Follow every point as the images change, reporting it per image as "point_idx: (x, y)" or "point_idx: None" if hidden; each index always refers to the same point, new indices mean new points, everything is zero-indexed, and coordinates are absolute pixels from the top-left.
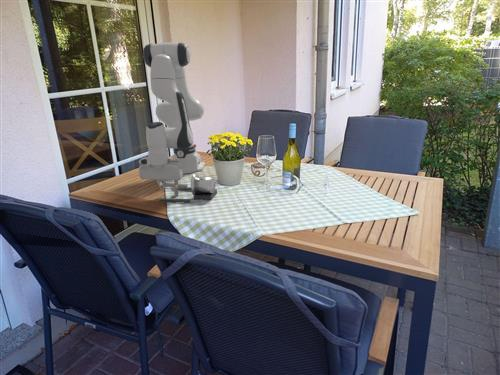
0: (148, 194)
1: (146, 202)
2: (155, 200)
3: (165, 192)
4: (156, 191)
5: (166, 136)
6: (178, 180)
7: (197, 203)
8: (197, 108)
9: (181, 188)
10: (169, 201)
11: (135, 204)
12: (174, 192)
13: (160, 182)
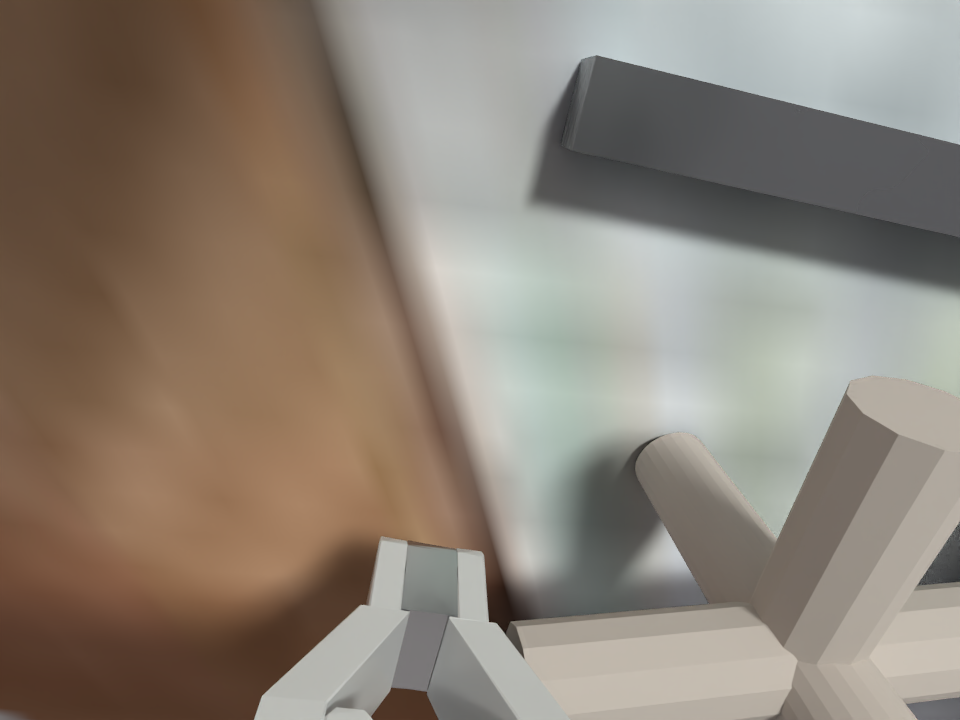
0: (63, 348)
1: (239, 662)
2: (350, 611)
3: (409, 266)
4: (152, 166)
5: None
6: (947, 518)
7: (944, 714)
8: None
9: (806, 201)
10: None
11: (109, 707)
12: (664, 524)
13: (355, 703)
